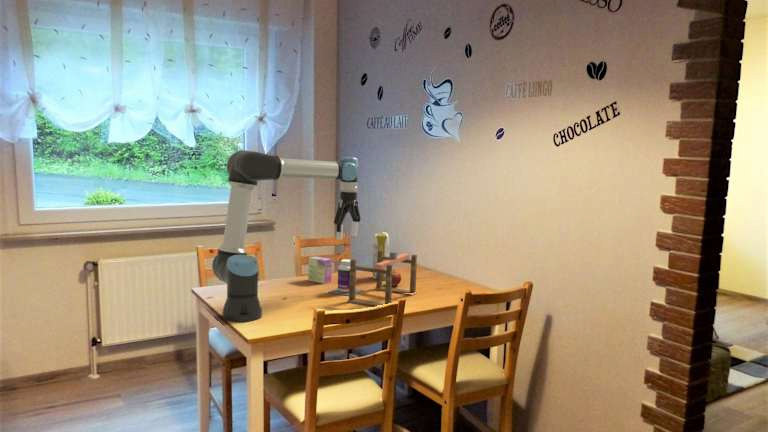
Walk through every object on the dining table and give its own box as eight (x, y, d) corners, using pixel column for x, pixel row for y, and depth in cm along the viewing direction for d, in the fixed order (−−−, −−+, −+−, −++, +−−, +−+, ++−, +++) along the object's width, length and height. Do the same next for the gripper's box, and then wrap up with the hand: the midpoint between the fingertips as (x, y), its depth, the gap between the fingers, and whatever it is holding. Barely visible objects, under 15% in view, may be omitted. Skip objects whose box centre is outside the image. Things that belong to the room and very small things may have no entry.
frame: (388, 309, 244) (389, 265, 241) (347, 302, 252) (348, 260, 250) (416, 293, 270) (417, 254, 268) (379, 287, 279) (380, 250, 277)
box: (331, 282, 287) (332, 258, 286) (324, 284, 283) (324, 260, 281) (315, 278, 293) (315, 255, 291) (308, 280, 288) (308, 257, 287)
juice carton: (387, 280, 294) (389, 234, 291) (372, 280, 294) (373, 233, 291) (387, 276, 303) (389, 231, 300) (372, 276, 303) (374, 230, 300)
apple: (392, 282, 290) (393, 267, 289) (404, 285, 284) (404, 269, 283) (381, 285, 284) (381, 269, 283) (392, 288, 279) (393, 272, 278)
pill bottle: (352, 293, 264) (353, 262, 263) (335, 292, 266) (336, 261, 265) (356, 289, 272) (357, 259, 271) (340, 288, 274) (341, 258, 272)
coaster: (351, 296, 262) (351, 295, 262) (328, 292, 267) (328, 291, 267) (363, 290, 272) (363, 289, 272) (341, 287, 278) (341, 286, 278)
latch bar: (381, 269, 244) (381, 258, 243) (375, 268, 245) (375, 257, 244) (409, 258, 270) (409, 247, 269) (403, 257, 271) (404, 247, 270)
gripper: (341, 193, 251) (340, 241, 253) (368, 190, 273) (366, 235, 276) (327, 191, 254) (325, 239, 257) (354, 189, 277) (353, 233, 279)
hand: (346, 237), depth 266 cm, fingers open, 13 cm apart
